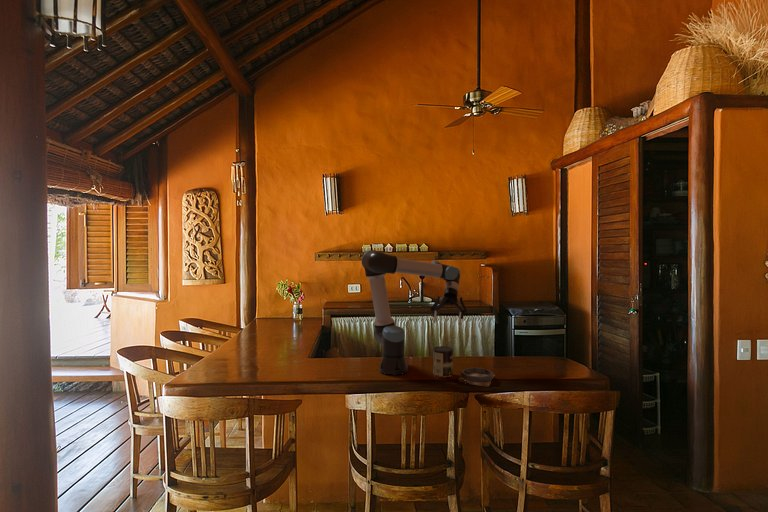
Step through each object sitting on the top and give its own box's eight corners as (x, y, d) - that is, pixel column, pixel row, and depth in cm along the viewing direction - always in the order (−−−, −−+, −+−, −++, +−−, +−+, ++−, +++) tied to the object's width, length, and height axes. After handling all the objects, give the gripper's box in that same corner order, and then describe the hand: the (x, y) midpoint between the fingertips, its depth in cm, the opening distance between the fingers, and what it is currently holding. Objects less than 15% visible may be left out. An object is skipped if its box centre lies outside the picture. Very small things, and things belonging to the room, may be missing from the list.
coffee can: (453, 372, 253) (453, 346, 252) (452, 379, 243) (452, 351, 242) (434, 371, 255) (434, 345, 254) (432, 377, 245) (432, 350, 244)
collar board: (458, 382, 238) (458, 374, 237) (466, 373, 251) (466, 366, 251) (488, 386, 231) (488, 378, 231) (495, 377, 245) (495, 370, 245)
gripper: (473, 296, 269) (470, 328, 256) (430, 294, 276) (425, 325, 263) (473, 288, 264) (469, 320, 251) (428, 286, 271) (423, 317, 258)
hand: (446, 322), depth 257 cm, fingers open, 13 cm apart
